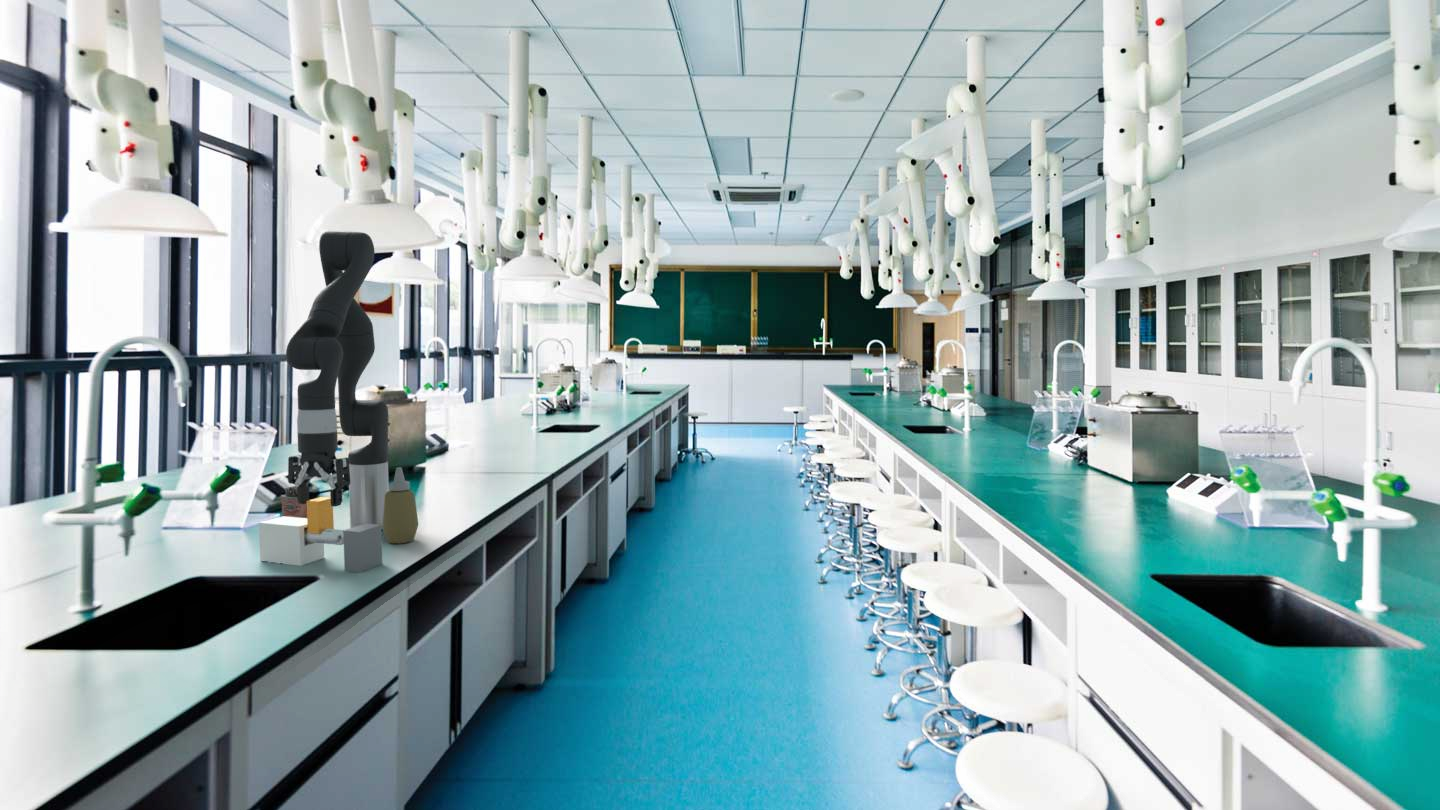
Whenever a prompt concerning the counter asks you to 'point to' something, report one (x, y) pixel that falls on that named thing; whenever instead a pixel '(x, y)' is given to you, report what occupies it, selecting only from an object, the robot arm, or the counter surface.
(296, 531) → the white box
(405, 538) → the squeeze bottle
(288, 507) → the lighter
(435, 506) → the counter surface
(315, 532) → the slip tube
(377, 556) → the gray box
